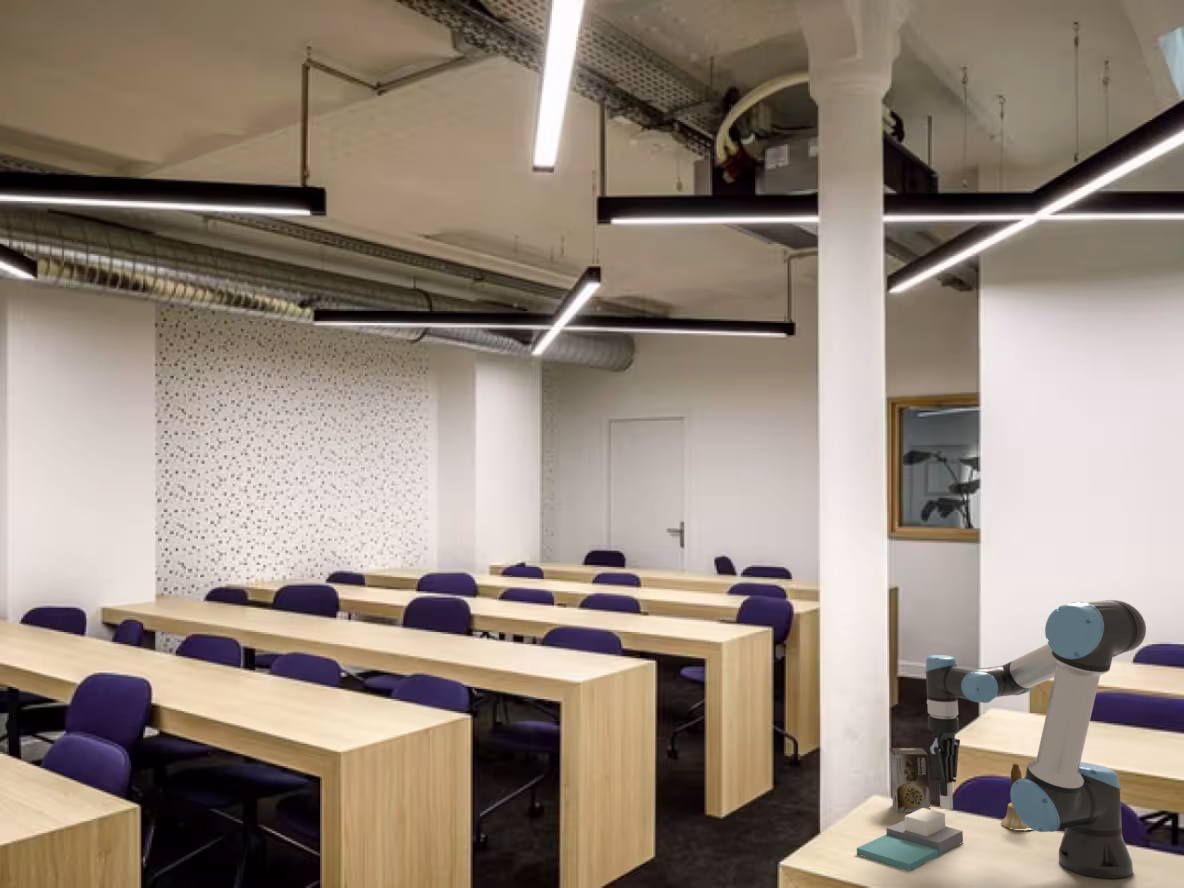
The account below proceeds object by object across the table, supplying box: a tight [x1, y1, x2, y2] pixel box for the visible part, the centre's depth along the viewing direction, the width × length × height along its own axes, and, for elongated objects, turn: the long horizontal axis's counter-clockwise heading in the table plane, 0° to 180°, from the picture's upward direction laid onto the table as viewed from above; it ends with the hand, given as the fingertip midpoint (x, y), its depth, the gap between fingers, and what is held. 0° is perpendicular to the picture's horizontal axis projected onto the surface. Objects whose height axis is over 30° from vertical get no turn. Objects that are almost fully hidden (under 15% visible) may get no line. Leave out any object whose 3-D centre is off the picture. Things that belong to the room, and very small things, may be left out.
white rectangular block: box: [904, 808, 946, 836], centre depth 230 cm, size 6×9×4 cm, turn 131°
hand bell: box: [1000, 763, 1029, 829], centre depth 240 cm, size 8×8×16 cm
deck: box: [886, 819, 964, 856], centre depth 229 cm, size 14×12×3 cm
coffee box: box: [889, 747, 932, 814], centre depth 254 cm, size 9×6×16 cm
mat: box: [856, 833, 940, 872], centre depth 221 cm, size 14×13×2 cm
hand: (946, 807), depth 237 cm, fingers closed
